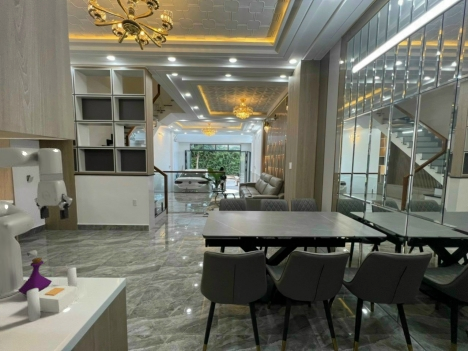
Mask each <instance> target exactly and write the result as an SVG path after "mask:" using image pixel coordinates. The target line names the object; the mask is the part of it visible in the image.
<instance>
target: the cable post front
mask: <svg viewBox="0 0 468 351" xmlns="http://www.w3.org/2000/svg"><path fill="white" fill-rule="evenodd" d="M26 301H27V302H26V303H27V311H28V312H27V314H28V321H29V322H35V321H37V320H39V319H40V318H41V317H42V315H41V311H40V302H39V290H38V288H34V289H31V290H29V291H27V296H26Z"/></svg>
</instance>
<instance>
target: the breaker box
mask: <svg viewBox="0 0 468 351" xmlns="http://www.w3.org/2000/svg"><path fill="white" fill-rule="evenodd" d="M54 288H64V290H63V291H61V292H59V293H58V294H56V295H55V296H50V295H45V293H47V292H49V291H50V290H52V289H54ZM78 300H79V287H78V286H77V287H75V286H68V285H60V284H50V285H49V286H48V287H47V288H45V289H43V290H41V291H40V292H39V302H40V312H46V313H47V312H48V313H54V314H55V313H56V314H60V313H62V312H63V311H64V310H65V309H68V307H69V306H71V305H72V304H73V303H75V302H76V301H78Z"/></svg>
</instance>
